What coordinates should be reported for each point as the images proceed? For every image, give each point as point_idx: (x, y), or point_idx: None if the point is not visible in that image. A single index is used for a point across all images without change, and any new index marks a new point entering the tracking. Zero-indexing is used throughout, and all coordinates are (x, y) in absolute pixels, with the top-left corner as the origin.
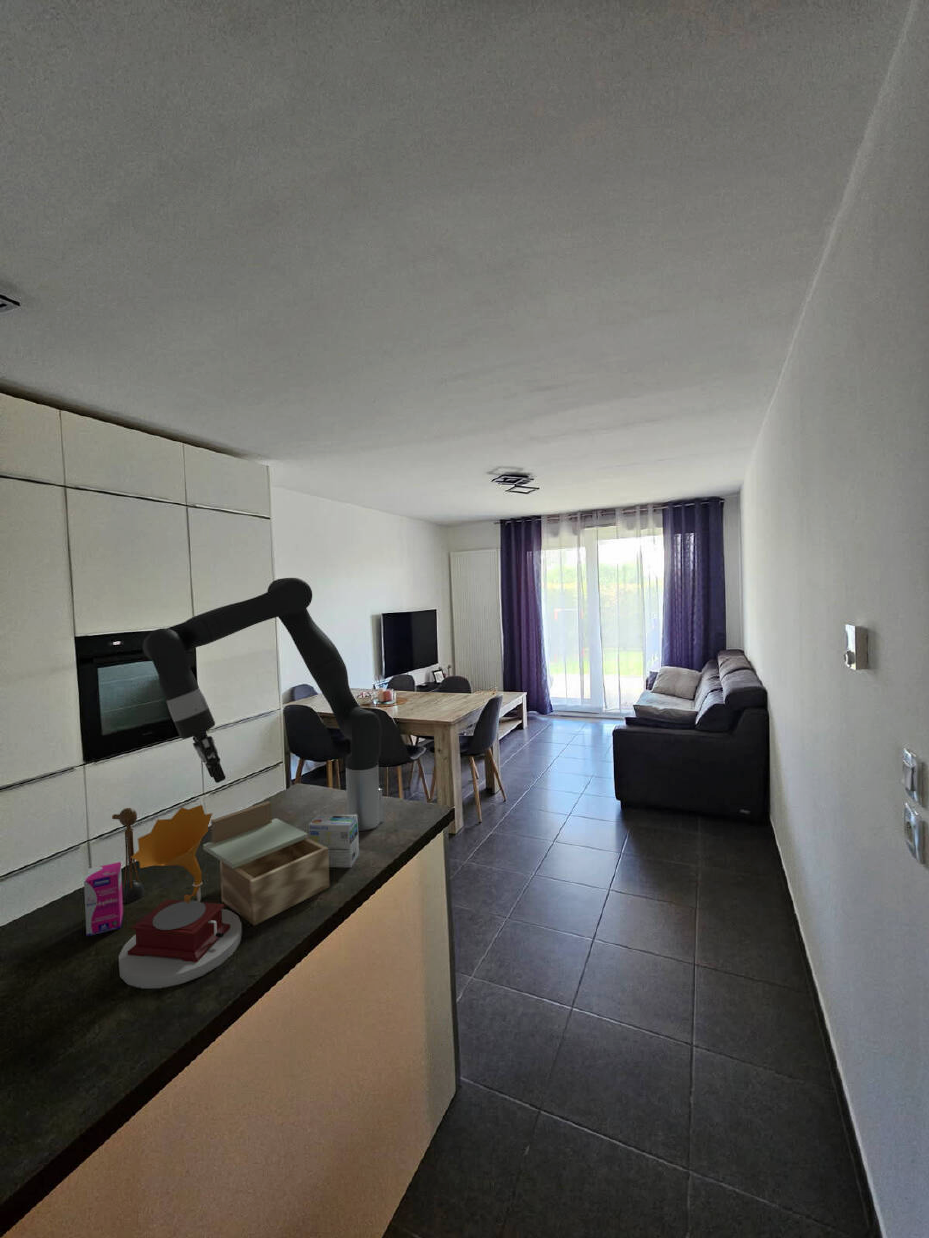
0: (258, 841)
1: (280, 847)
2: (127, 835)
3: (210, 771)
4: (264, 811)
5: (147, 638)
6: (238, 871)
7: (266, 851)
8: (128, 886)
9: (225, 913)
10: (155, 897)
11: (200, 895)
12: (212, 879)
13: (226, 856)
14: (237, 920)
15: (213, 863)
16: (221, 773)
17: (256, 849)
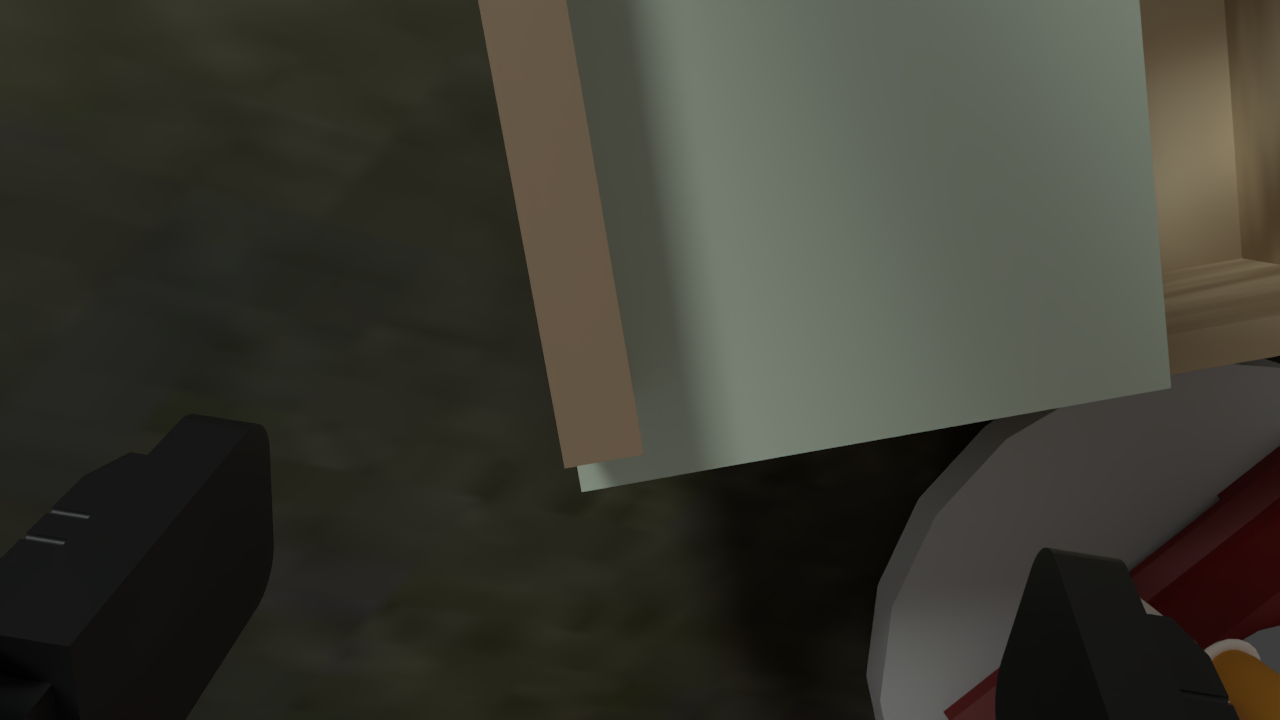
0: (895, 49)
1: None
2: None
3: (211, 640)
4: None
5: None
6: (1220, 356)
7: (1138, 60)
8: None
9: (1114, 414)
10: (475, 677)
11: (1149, 606)
12: (484, 326)
13: (986, 390)
14: (1249, 379)
15: (220, 252)
16: (1219, 708)
17: (1054, 128)
